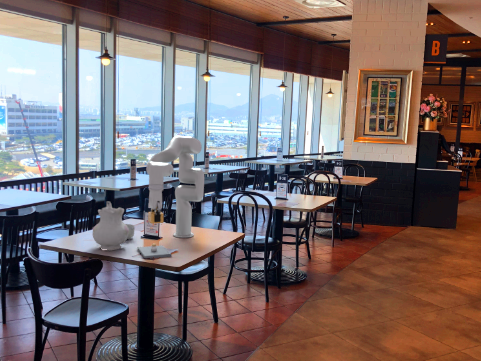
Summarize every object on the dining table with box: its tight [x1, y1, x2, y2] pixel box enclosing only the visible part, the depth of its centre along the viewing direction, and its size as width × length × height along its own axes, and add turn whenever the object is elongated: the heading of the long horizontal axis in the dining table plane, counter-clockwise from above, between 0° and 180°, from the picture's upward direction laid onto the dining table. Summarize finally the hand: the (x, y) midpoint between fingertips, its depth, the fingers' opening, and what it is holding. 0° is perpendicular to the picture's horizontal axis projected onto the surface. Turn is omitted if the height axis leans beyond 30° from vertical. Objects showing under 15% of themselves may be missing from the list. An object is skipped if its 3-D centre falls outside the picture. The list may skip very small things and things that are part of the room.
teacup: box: [124, 223, 136, 241], centre depth 279 cm, size 14×11×8 cm
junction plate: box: [136, 243, 172, 259], centre depth 251 cm, size 18×14×5 cm
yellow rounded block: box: [147, 211, 164, 224], centre depth 249 cm, size 6×6×5 cm
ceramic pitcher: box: [92, 201, 129, 251], centre depth 259 cm, size 22×20×25 cm
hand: (155, 220), depth 249 cm, fingers closed on yellow rounded block, 6 cm apart
